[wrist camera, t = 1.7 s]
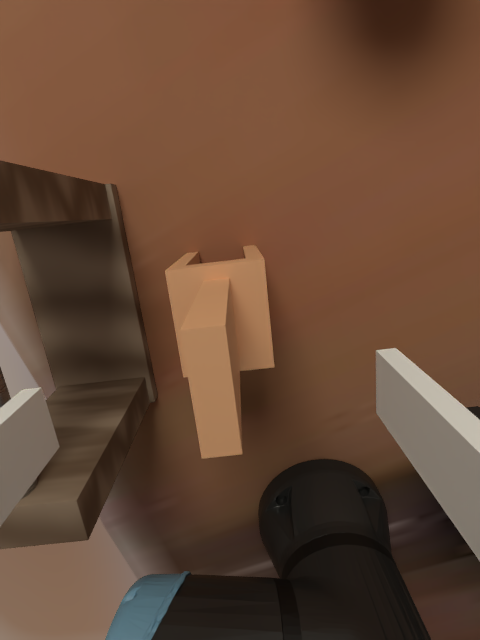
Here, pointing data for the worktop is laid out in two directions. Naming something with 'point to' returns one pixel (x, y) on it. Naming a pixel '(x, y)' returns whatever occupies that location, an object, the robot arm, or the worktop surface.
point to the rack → (77, 345)
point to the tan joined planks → (220, 339)
